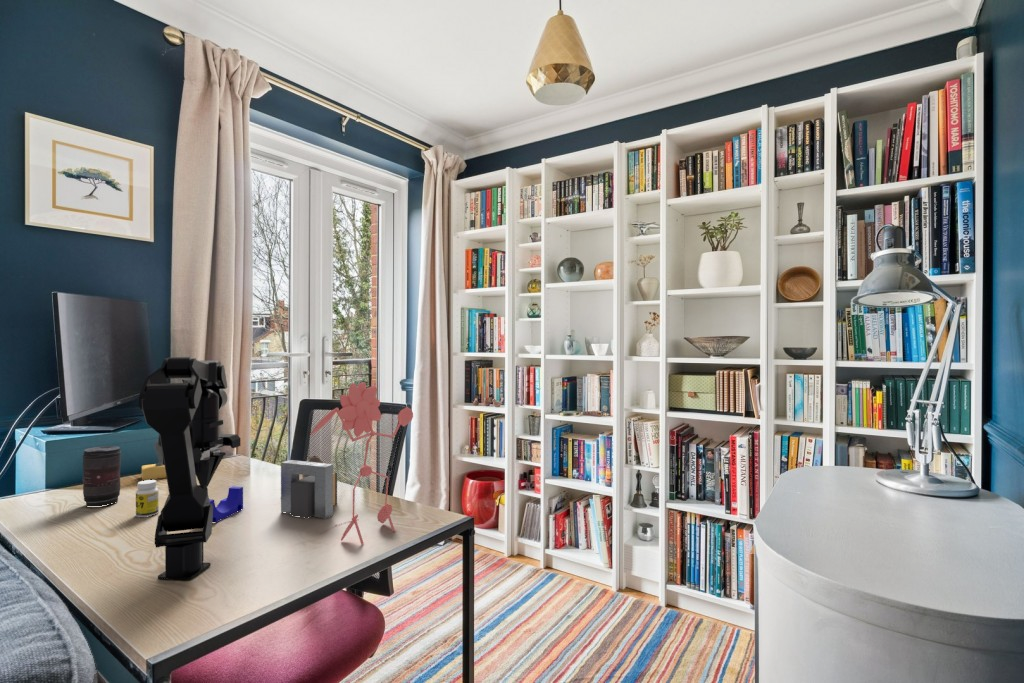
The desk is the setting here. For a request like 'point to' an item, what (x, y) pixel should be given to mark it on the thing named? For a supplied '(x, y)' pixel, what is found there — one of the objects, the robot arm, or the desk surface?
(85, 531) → the desk surface
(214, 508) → the cable clip
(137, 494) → the supplement bottle
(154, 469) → the rubber stamp
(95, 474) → the camera lens
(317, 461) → the vase
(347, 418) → the figurine
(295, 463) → the frame
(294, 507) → the plug
